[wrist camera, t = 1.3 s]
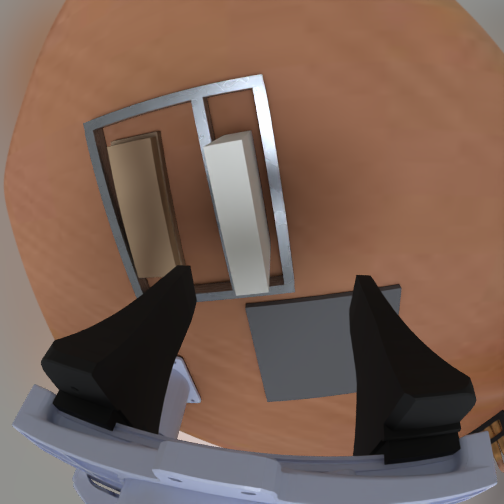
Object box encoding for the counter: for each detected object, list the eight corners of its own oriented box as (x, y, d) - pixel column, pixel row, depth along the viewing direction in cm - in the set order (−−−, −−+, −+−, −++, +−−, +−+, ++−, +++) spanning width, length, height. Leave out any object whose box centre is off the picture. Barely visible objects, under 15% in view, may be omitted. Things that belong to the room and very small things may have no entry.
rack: (145, 296, 28) (140, 306, 27) (92, 122, 21) (82, 123, 20) (294, 282, 26) (295, 292, 25) (263, 76, 19) (262, 74, 18)
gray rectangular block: (246, 246, 25) (236, 295, 19) (224, 134, 21) (203, 146, 15) (270, 243, 25) (268, 292, 19) (251, 130, 21) (241, 139, 15)
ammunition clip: (502, 409, 36) (523, 457, 25) (504, 411, 36) (524, 458, 26) (457, 440, 40) (472, 490, 29) (459, 442, 40) (474, 490, 30)
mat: (267, 397, 34) (267, 401, 33) (246, 303, 28) (245, 307, 27) (385, 383, 32) (386, 386, 31) (399, 284, 26) (401, 288, 25)
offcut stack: (147, 271, 27) (137, 285, 25) (117, 140, 22) (103, 144, 20) (188, 269, 27) (181, 283, 25) (162, 130, 22) (150, 133, 20)
